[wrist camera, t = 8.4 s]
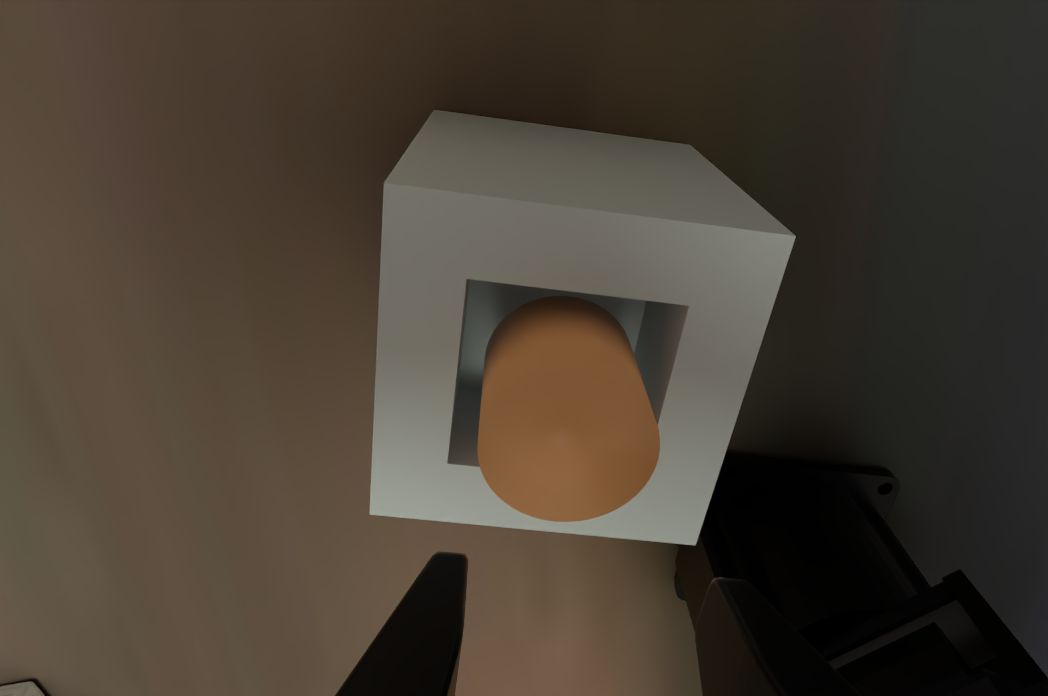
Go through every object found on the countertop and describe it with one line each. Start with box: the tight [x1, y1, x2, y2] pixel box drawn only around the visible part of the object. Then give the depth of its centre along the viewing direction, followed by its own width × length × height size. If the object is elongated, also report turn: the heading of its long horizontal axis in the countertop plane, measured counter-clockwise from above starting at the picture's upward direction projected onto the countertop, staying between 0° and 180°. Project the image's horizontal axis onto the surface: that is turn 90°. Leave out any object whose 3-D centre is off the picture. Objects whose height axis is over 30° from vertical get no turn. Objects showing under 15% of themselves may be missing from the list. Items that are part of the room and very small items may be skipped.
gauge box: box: [370, 110, 796, 545], centre depth 17 cm, size 7×7×8 cm
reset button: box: [477, 296, 660, 522], centre depth 13 cm, size 3×3×3 cm
